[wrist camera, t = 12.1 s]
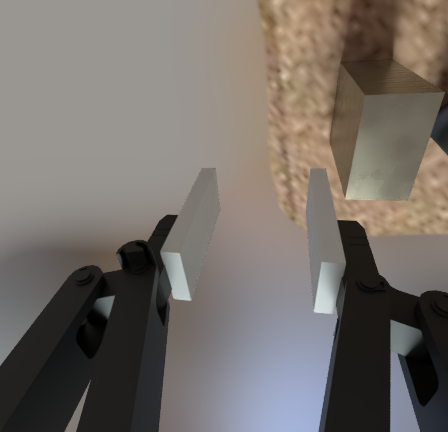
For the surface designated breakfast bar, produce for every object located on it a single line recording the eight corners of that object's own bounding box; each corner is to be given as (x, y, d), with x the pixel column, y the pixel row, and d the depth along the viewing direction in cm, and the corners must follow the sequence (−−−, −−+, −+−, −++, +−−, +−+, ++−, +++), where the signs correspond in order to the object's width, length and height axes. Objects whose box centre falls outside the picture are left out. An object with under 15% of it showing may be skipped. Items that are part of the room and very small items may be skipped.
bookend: (340, 62, 24) (365, 95, 16) (392, 59, 23) (445, 91, 16) (329, 142, 28) (345, 199, 21) (373, 142, 28) (407, 200, 20)
